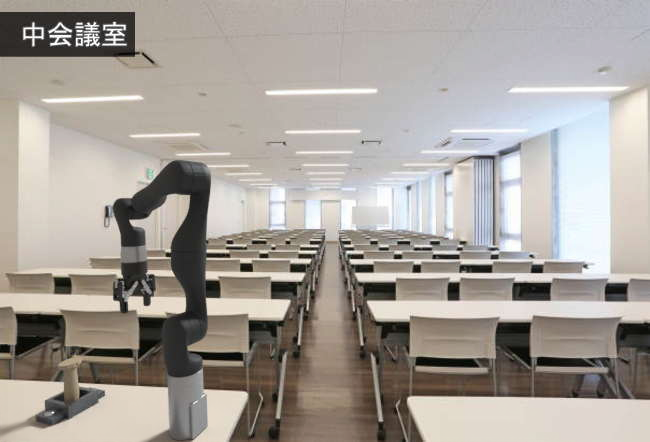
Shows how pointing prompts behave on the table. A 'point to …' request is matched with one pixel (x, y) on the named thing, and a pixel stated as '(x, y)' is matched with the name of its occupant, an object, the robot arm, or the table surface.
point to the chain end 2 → (86, 399)
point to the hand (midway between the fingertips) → (136, 309)
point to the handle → (70, 378)
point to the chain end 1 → (55, 410)
